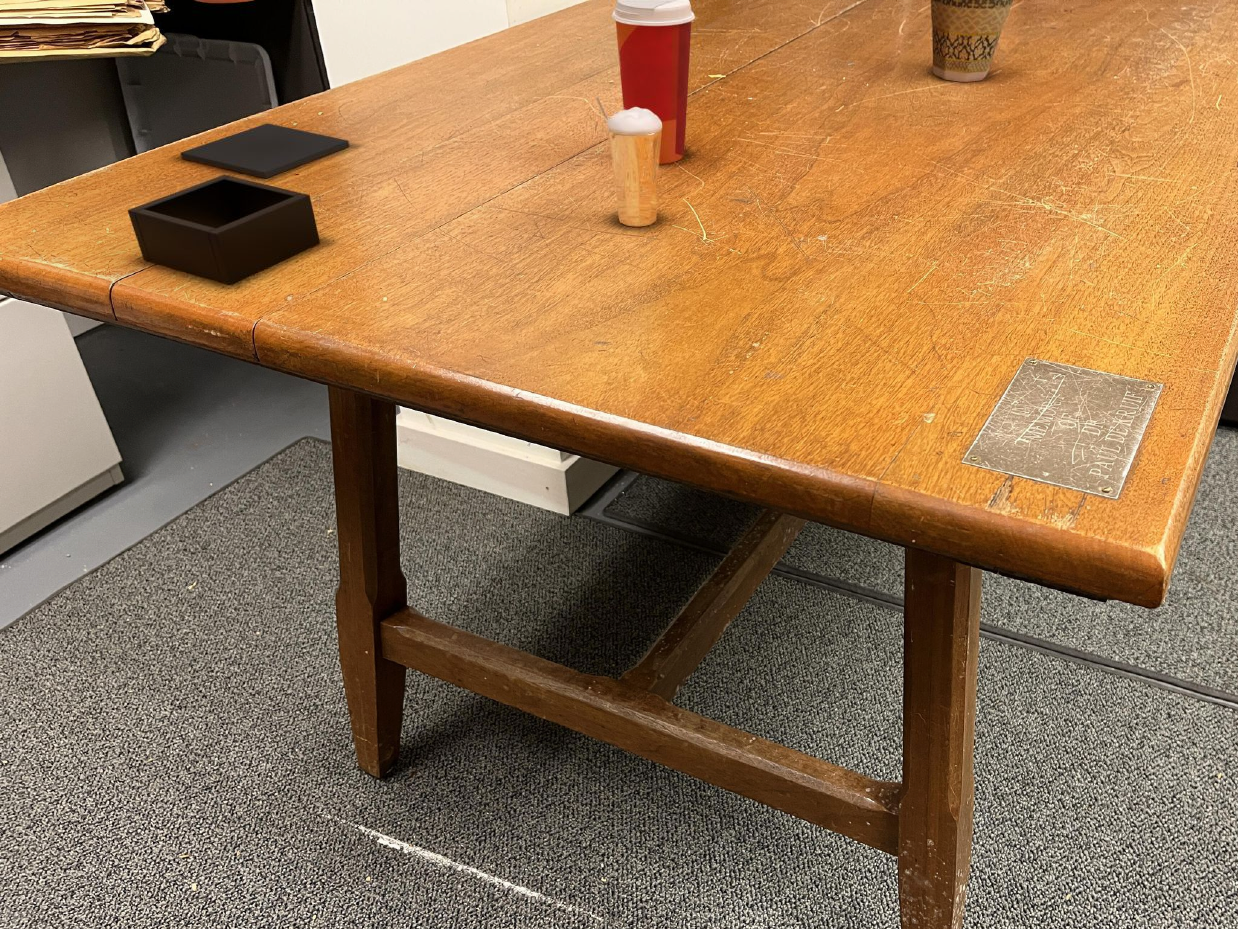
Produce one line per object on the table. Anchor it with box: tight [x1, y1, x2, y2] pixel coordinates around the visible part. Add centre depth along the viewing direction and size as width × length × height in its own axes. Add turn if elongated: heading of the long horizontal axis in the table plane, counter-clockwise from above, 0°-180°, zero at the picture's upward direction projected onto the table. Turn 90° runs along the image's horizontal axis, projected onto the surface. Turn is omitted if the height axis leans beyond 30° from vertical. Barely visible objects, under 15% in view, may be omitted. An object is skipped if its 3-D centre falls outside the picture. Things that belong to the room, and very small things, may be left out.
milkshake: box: [595, 96, 662, 228], centre depth 89 cm, size 5×5×10 cm
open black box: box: [127, 174, 321, 286], centre depth 84 cm, size 9×9×4 cm
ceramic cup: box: [930, 0, 1014, 83], centre depth 131 cm, size 13×10×10 cm
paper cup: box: [611, 0, 696, 165], centre depth 101 cm, size 8×8×14 cm
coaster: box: [180, 122, 350, 179], centre depth 104 cm, size 11×11×1 cm
